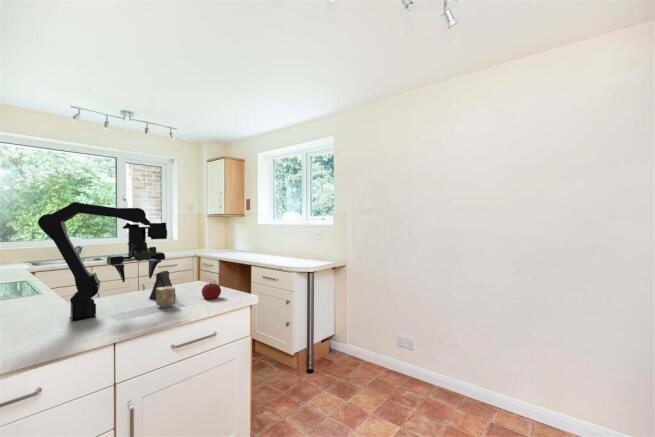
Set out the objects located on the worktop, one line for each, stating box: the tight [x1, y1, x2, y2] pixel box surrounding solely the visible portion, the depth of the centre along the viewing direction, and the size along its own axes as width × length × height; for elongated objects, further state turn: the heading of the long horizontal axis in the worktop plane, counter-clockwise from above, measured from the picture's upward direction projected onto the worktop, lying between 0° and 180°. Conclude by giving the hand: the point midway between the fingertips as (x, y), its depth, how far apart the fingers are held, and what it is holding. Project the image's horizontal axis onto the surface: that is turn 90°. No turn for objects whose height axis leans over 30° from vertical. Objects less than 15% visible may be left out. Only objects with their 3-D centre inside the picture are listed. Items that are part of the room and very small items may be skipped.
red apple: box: [201, 282, 222, 301], centre depth 137 cm, size 8×8×7 cm
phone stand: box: [148, 270, 176, 300], centre depth 137 cm, size 9×6×12 cm, turn 92°
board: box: [109, 300, 187, 322], centre depth 119 cm, size 24×10×1 cm, turn 139°
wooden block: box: [155, 286, 176, 307], centre depth 123 cm, size 5×5×7 cm
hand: (137, 280), depth 119 cm, fingers open, 9 cm apart
